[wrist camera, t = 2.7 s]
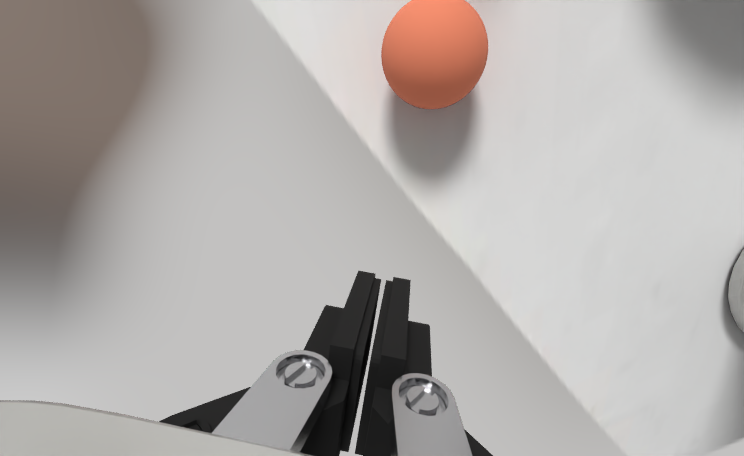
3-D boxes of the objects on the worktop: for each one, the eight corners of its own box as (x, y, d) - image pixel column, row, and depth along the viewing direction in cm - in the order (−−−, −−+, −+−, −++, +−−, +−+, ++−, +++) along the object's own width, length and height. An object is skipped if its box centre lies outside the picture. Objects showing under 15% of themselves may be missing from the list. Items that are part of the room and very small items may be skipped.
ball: (488, 93, 24) (508, 87, 19) (400, 120, 25) (393, 123, 20) (468, -6, 23) (482, -45, 17) (375, 28, 24) (360, 3, 18)
